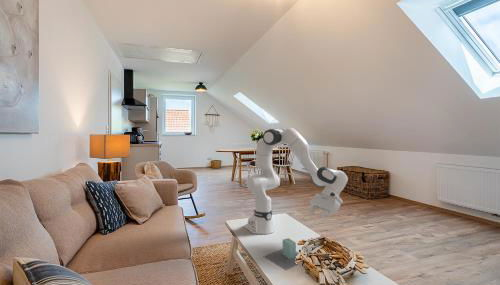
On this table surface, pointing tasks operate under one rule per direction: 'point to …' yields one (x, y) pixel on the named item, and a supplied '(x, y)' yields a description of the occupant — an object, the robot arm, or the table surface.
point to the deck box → (289, 248)
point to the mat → (281, 259)
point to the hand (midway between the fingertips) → (316, 215)
